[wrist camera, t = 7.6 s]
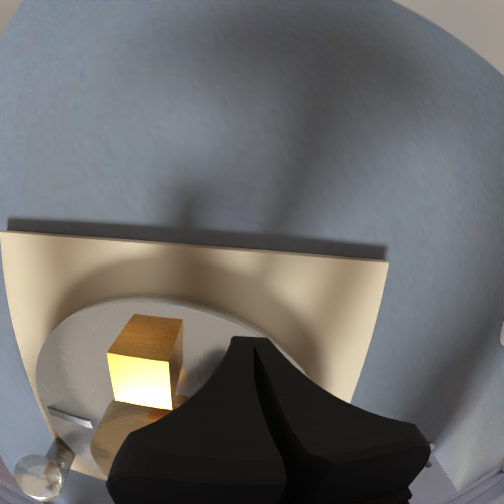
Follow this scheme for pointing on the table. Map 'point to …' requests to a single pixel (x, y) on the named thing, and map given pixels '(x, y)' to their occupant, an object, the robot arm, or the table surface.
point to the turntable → (132, 358)
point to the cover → (123, 427)
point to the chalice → (502, 334)
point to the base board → (200, 295)
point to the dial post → (45, 471)
